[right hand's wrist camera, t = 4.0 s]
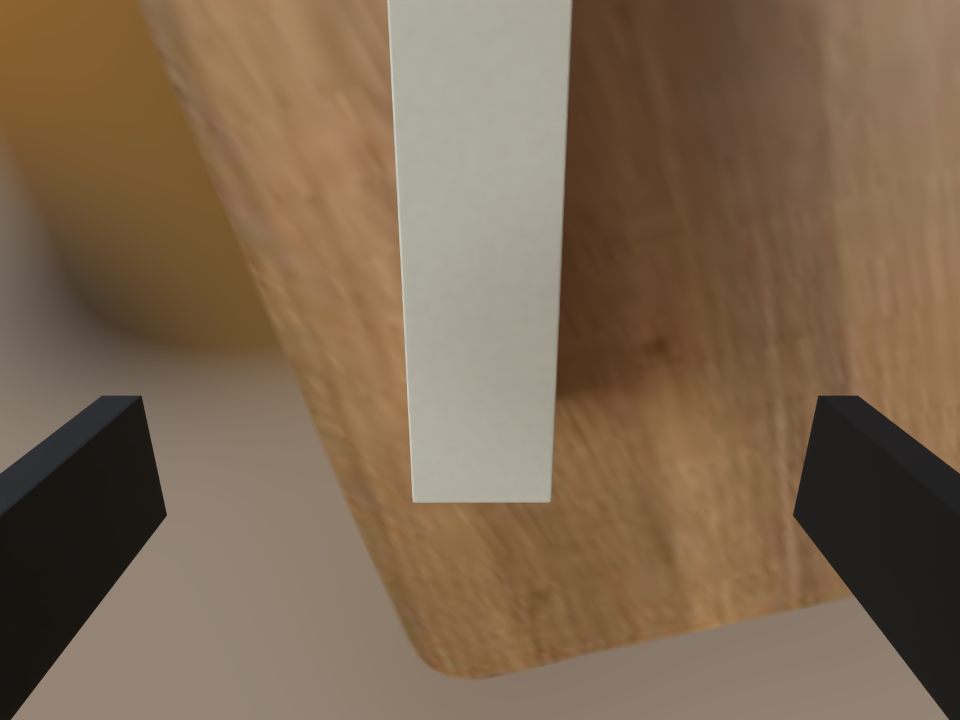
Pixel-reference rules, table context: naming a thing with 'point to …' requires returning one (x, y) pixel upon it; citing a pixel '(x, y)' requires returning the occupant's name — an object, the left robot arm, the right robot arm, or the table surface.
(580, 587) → the table surface
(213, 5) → the table surface
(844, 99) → the table surface
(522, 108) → the beam
